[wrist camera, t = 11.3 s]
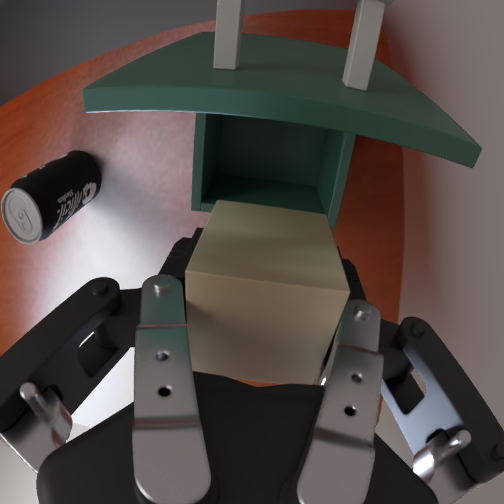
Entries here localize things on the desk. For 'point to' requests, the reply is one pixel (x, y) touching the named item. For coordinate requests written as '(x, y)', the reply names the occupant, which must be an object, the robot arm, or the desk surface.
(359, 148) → the desk surface
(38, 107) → the desk surface
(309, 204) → the chest
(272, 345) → the block
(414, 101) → the lid
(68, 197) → the beverage can
